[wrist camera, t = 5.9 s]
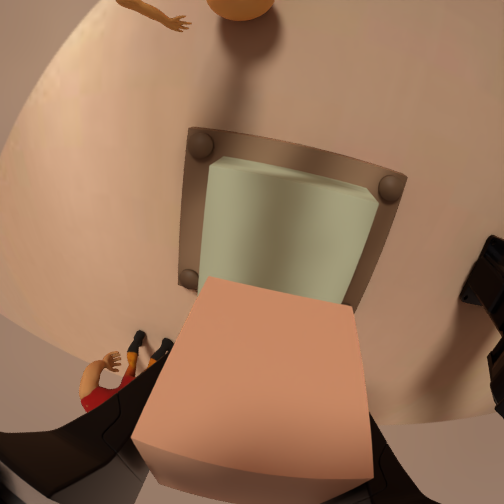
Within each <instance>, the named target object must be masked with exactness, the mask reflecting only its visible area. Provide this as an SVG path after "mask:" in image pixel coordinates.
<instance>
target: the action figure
mask: <svg viewBox="0 0 504 504" xmlns="http://www.w3.org/2000/svg"><path fill="white" fill-rule="evenodd" d="M144 336H145V333H144V332H143V331H140V330H139V331H137V332H136V334H135V336H134V341H133V342H132V343H131V345H130V347H129V348H128V351H127V352H128V353H127V359H128V363H129V366H128V368H127V371H126V373H125V375H124V376H123V379H122V382H121V384H120V386H119V387H118V388H116V389H106V388H103V387H100V386H99V379H100V374H101V372H102V370H103V369H104V368H107V369H109V370H110V371H113V372H119V370H118V369H116V368H115V369H113V368H112V367H114V366H120V365H121V363H114V362H116V361H118V360H121V358H120V357H118V356H120V354H119V352H118V351H114V352H110V353H108V354H107V355H106V356H105V357H104V358H103V360H98V361H94V362H92V363H91V364H89V365H88V366H87V367H86V369H85V371H84V373H83V376H82V379H81V382H80V388H79V396H80V399H81V404H82V406H83V407H84V409H85V411H86V412H87V413H88V412H89V411H91V410H93V409H94V408H96V407H97V406H99V405H100V404H102V403H103V402H105V401H106V400H107V399H109V398H110V397H111V396H113V395H114V394H115V393H118V391H119V390H121V389H122V388H123V387H124V386H126V385H127V384H128V383H130V382H131V381H132V380H133V379H135V378H136V377H135V372H136V362H137V358H138V356H139V355H138V351H139V347H140V346H141V345H142V340H143V338H144ZM173 346H174V345H173V343H172V342H171V341H170V340H169V339H167V338H164V339H163V340H162V345H161V347H160V348H159V349H158V350H157V351H156V352H155V353H154V354H153V355H152V357H151V359H150V361H149V364H148V367H147V368H149V367H150V366H151V365H152V364H154V363H155V362H156V361H157V360H159V359H160V358H161V357H162V356H164V355H165V353H166V351H168V352H169V351H170V350H171V349H172V348H173ZM113 354H115V355H113ZM111 355H112V356H111ZM115 357H118V358H115ZM113 358H115V359H113ZM145 370H146V369H145ZM145 370H144V371H145ZM144 371H143V372H144Z"/></svg>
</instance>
